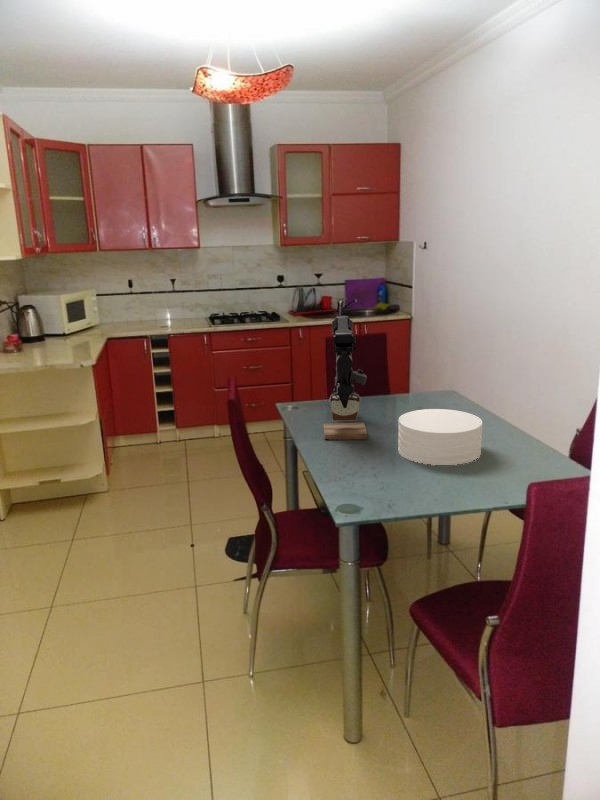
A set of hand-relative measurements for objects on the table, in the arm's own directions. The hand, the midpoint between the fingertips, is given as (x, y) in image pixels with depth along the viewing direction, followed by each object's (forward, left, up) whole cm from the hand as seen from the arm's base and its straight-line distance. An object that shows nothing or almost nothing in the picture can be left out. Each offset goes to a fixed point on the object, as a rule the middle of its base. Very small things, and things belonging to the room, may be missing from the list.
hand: (344, 405), depth 225 cm
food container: (-2, 0, -5) cm, 6 cm away
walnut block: (0, 0, -11) cm, 11 cm away
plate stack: (+22, +31, -12) cm, 40 cm away
